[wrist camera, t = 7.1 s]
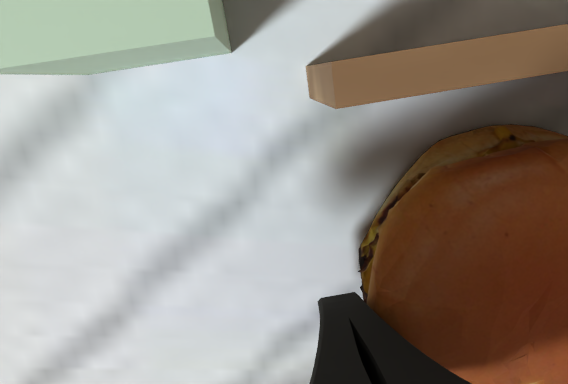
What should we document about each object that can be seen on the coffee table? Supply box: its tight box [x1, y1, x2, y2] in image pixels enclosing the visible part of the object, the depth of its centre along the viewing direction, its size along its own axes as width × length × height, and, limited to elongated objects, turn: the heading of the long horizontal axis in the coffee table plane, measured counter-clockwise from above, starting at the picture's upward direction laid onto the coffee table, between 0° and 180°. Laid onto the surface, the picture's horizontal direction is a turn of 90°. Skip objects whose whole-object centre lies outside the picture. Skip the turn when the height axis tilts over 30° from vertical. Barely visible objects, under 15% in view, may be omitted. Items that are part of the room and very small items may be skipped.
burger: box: [358, 124, 568, 384], centre depth 12 cm, size 10×9×5 cm
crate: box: [306, 24, 568, 109], centre depth 12 cm, size 16×14×4 cm
